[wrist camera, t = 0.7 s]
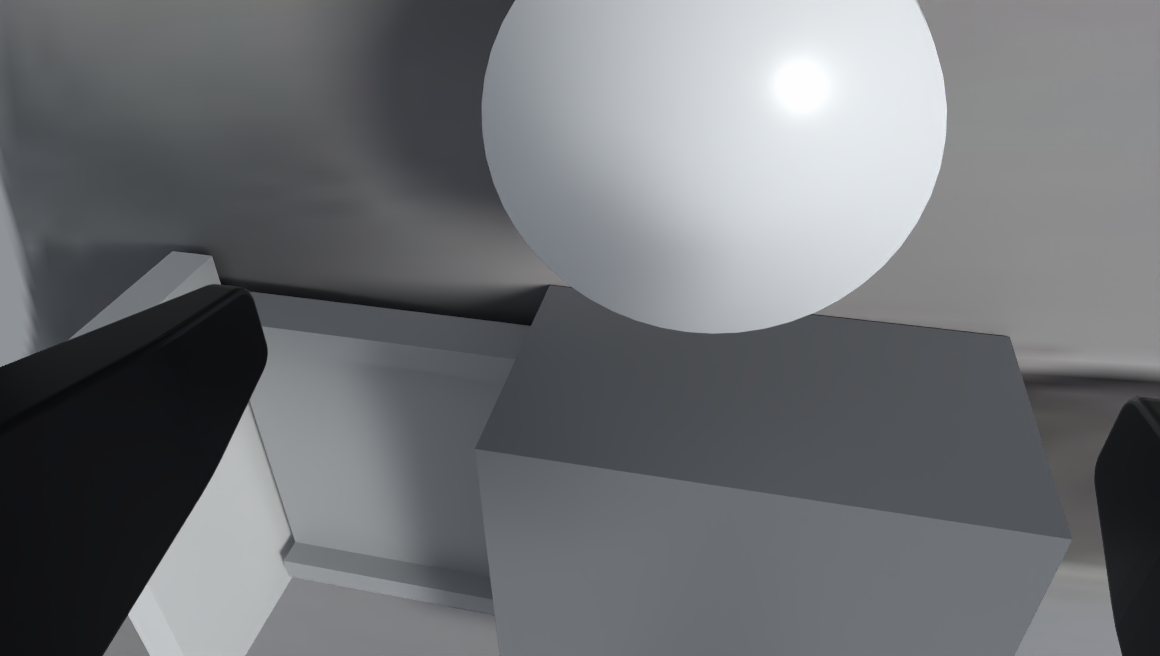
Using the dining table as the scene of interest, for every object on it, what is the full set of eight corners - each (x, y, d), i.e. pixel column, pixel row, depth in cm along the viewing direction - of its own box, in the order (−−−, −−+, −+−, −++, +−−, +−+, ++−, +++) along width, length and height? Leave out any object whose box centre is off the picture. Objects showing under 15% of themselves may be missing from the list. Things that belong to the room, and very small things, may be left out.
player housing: (897, 651, 27) (915, 853, 22) (562, 590, 29) (512, 764, 24) (1009, 337, 19) (1072, 539, 15) (549, 285, 21) (474, 449, 17)
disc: (885, 304, 16) (891, 356, 14) (521, 264, 17) (497, 309, 16) (987, -120, 12) (1009, -98, 10) (496, -129, 13) (461, -111, 12)
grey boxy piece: (574, 602, 28) (525, 781, 24) (275, 548, 30) (176, 703, 26) (565, 296, 21) (492, 467, 16) (172, 251, 23) (7, 391, 18)
